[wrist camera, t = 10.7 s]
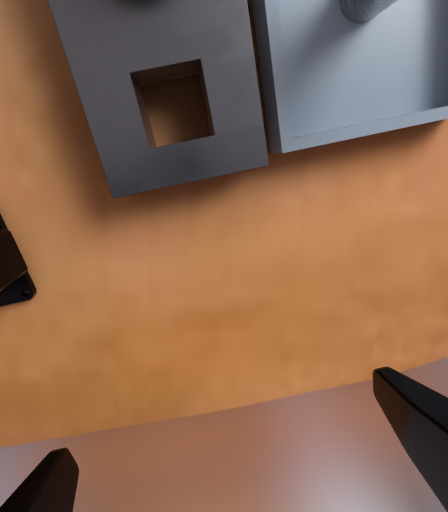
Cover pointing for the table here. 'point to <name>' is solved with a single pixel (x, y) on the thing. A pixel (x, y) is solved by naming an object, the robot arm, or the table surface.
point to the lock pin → (363, 9)
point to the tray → (349, 70)
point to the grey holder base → (159, 70)
